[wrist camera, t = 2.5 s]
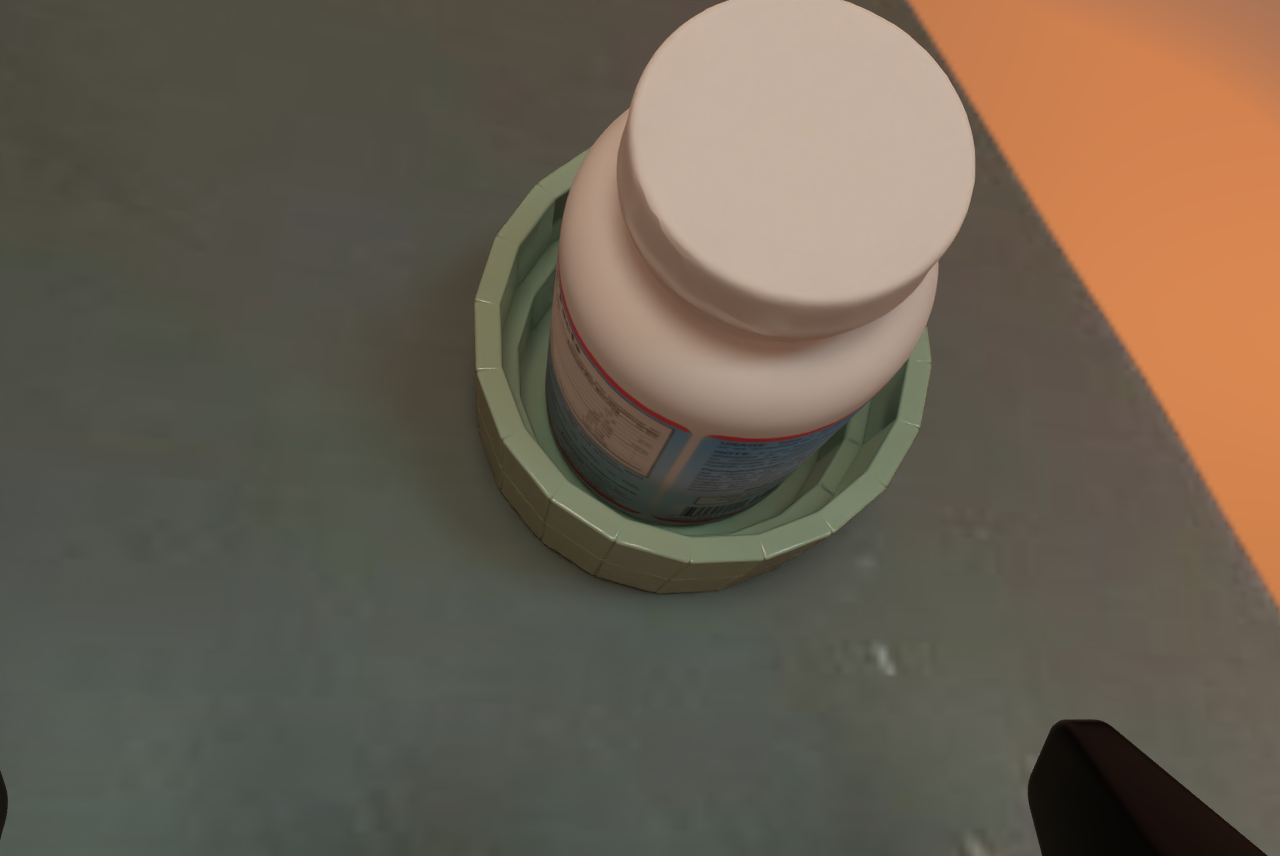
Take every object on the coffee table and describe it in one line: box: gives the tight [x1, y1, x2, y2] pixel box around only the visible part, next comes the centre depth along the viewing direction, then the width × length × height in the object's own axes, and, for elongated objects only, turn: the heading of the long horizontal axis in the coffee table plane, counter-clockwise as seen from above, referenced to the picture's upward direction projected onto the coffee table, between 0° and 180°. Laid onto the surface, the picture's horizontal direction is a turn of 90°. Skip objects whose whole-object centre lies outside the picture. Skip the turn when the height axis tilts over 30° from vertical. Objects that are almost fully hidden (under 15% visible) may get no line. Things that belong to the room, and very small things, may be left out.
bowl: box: [474, 148, 932, 594], centre depth 23 cm, size 9×9×4 cm
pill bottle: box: [545, 0, 975, 526], centre depth 19 cm, size 6×6×11 cm
